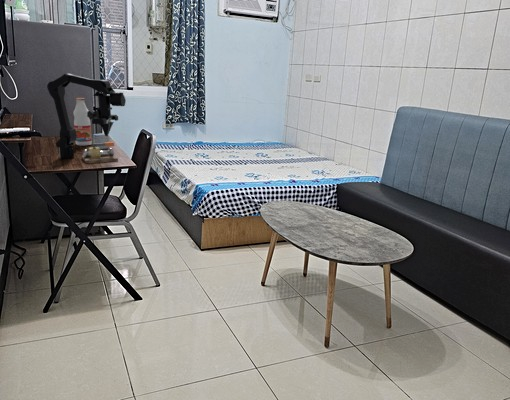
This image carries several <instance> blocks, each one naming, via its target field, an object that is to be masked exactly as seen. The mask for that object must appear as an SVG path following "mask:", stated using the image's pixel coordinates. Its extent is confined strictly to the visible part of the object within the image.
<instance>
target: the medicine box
mask: <svg viewBox="0 0 510 400" xmlns="http://www.w3.org/2000/svg"><path fill="white" fill-rule="evenodd" d="M109 140H110V139H109V135H108V136H105V134H104V132H103V133H101V132H100V133H93V134H92V143H105V142H110V141H109ZM96 147H99V148H100V150H105V149H109V148H110V146H96Z"/></svg>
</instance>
